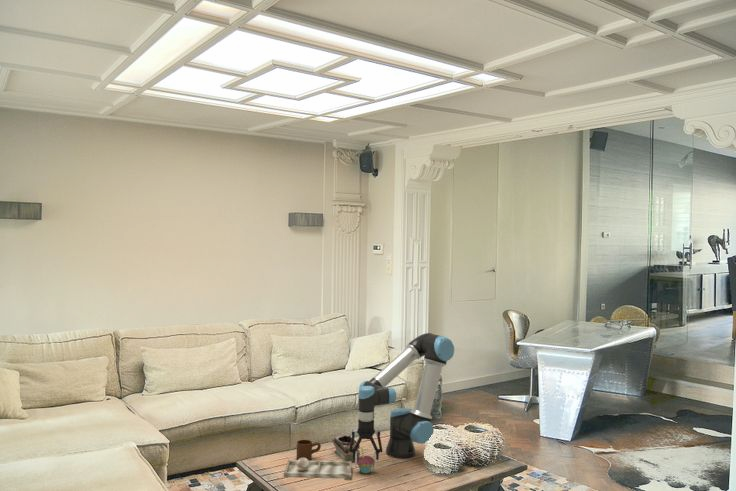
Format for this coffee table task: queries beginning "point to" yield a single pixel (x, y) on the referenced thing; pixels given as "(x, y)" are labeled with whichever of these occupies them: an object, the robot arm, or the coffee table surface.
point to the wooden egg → (302, 464)
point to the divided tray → (320, 469)
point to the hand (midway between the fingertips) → (365, 466)
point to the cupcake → (365, 463)
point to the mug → (306, 449)
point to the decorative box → (345, 447)
